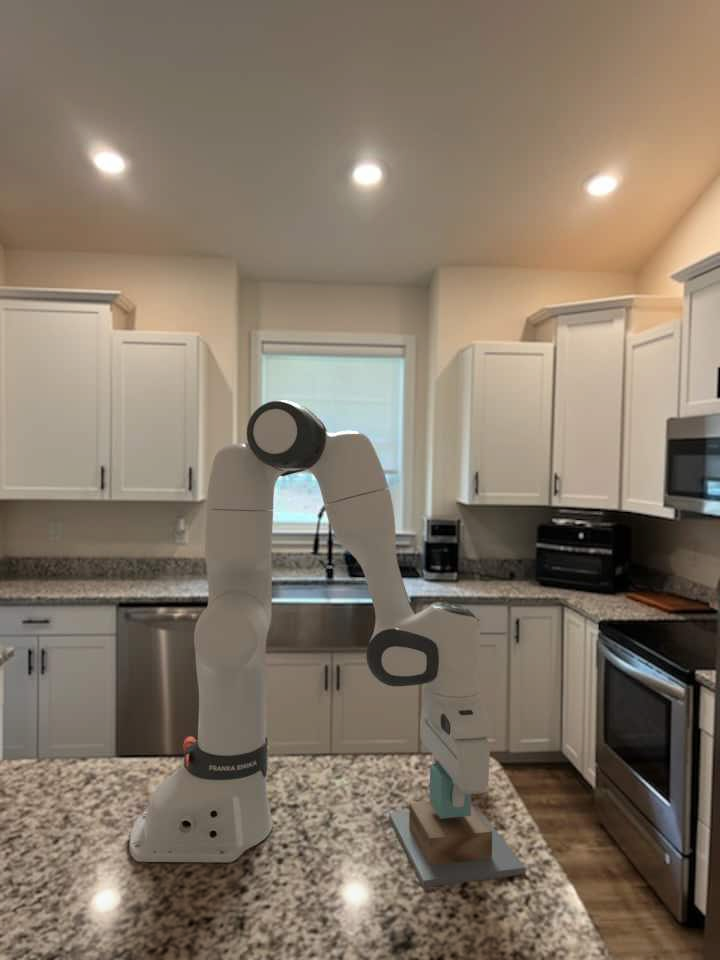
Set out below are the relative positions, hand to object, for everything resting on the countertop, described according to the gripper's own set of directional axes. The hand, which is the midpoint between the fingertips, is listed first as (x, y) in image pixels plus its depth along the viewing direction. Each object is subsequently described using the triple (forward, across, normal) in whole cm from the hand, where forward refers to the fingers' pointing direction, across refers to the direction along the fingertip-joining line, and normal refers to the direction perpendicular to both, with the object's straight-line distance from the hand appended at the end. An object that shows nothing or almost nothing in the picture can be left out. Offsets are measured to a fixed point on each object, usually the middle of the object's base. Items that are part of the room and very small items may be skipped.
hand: (449, 794), depth 92 cm
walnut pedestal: (+9, 0, 0) cm, 9 cm away
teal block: (+2, 0, 0) cm, 2 cm away
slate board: (+9, -1, +1) cm, 9 cm away
